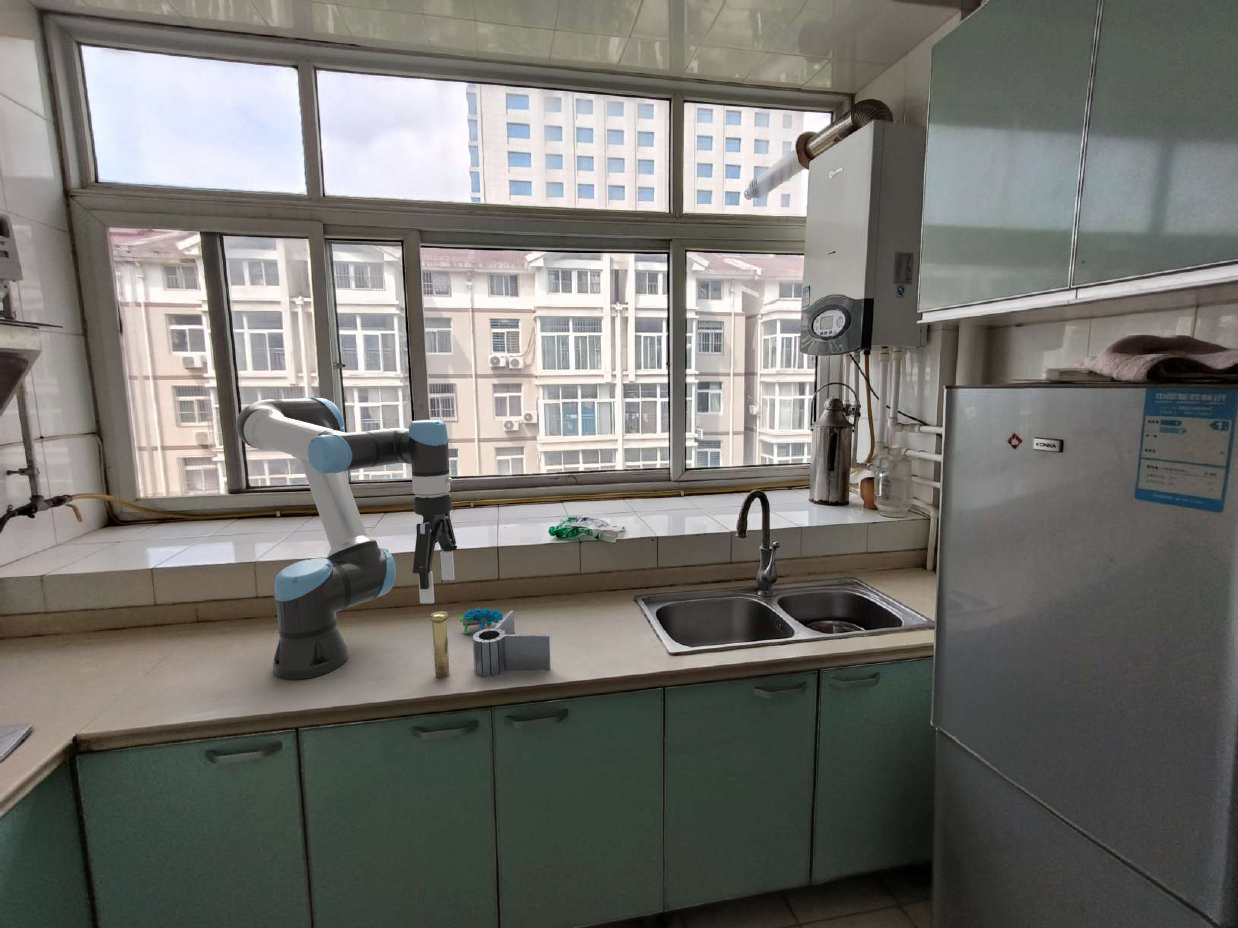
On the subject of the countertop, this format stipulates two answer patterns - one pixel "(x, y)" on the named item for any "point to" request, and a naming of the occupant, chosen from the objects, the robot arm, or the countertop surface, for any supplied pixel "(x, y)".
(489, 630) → the hinge leaf fixed
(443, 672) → the pin
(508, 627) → the hinge leaf swing
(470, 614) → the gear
